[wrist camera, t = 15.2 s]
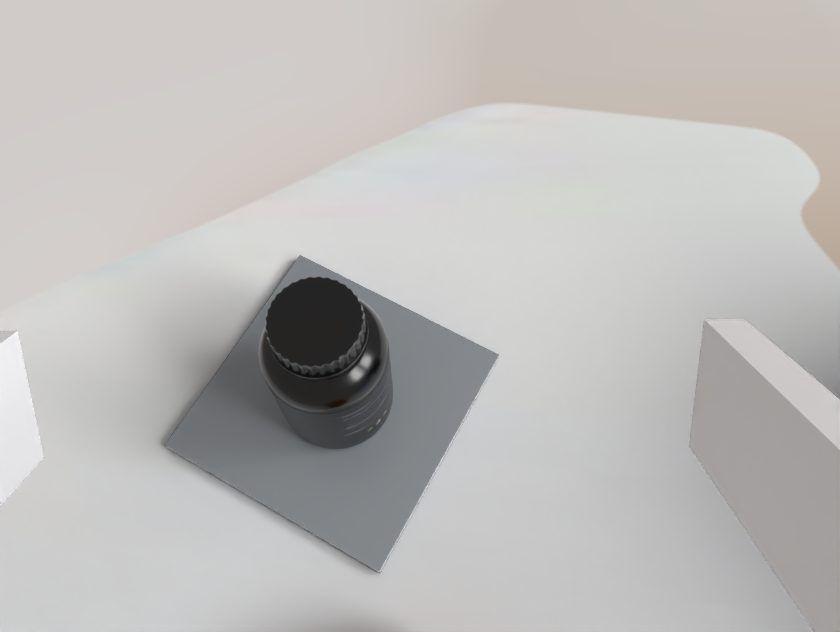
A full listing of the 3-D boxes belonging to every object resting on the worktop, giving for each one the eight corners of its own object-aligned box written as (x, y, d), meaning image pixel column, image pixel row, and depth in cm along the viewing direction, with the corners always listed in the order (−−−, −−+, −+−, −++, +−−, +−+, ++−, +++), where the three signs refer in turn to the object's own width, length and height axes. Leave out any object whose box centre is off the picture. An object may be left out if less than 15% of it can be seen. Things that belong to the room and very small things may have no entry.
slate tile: (497, 359, 49) (498, 354, 48) (379, 573, 44) (379, 571, 43) (301, 260, 52) (300, 255, 52) (168, 448, 47) (164, 445, 46)
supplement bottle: (260, 407, 47) (211, 328, 36) (333, 328, 49) (307, 230, 38) (345, 476, 45) (319, 414, 34) (417, 390, 47) (414, 307, 36)
